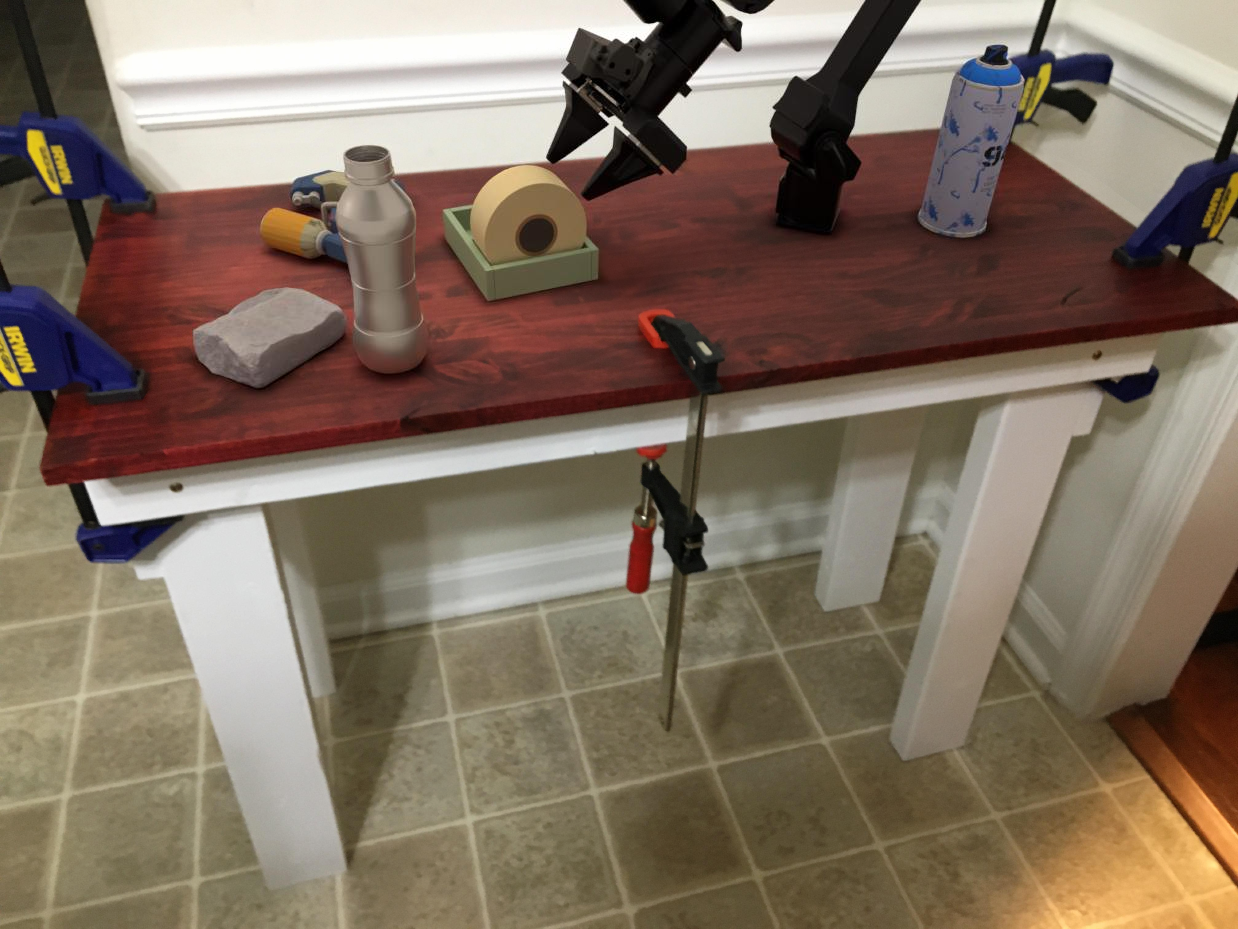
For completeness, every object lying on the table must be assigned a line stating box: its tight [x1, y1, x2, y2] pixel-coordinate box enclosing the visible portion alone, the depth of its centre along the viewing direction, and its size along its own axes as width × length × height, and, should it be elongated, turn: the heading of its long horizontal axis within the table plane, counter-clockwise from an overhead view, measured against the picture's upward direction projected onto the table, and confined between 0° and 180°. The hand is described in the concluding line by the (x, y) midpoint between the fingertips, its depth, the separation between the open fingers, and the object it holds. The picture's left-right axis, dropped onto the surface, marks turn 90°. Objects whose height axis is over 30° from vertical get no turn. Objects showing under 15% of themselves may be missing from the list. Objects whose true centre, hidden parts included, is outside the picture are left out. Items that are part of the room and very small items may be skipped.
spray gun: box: [259, 169, 407, 265], centre depth 111 cm, size 21×4×15 cm
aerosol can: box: [917, 44, 1025, 239], centre depth 112 cm, size 8×8×20 cm
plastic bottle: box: [335, 144, 430, 375], centre depth 87 cm, size 6×7×20 cm
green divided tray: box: [442, 204, 600, 302], centre depth 108 cm, size 12×14×4 cm
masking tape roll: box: [470, 164, 588, 266], centre depth 103 cm, size 11×5×11 cm, turn 115°
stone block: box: [192, 286, 348, 389], centre depth 93 cm, size 12×5×10 cm
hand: (566, 178), depth 102 cm, fingers open, 9 cm apart
